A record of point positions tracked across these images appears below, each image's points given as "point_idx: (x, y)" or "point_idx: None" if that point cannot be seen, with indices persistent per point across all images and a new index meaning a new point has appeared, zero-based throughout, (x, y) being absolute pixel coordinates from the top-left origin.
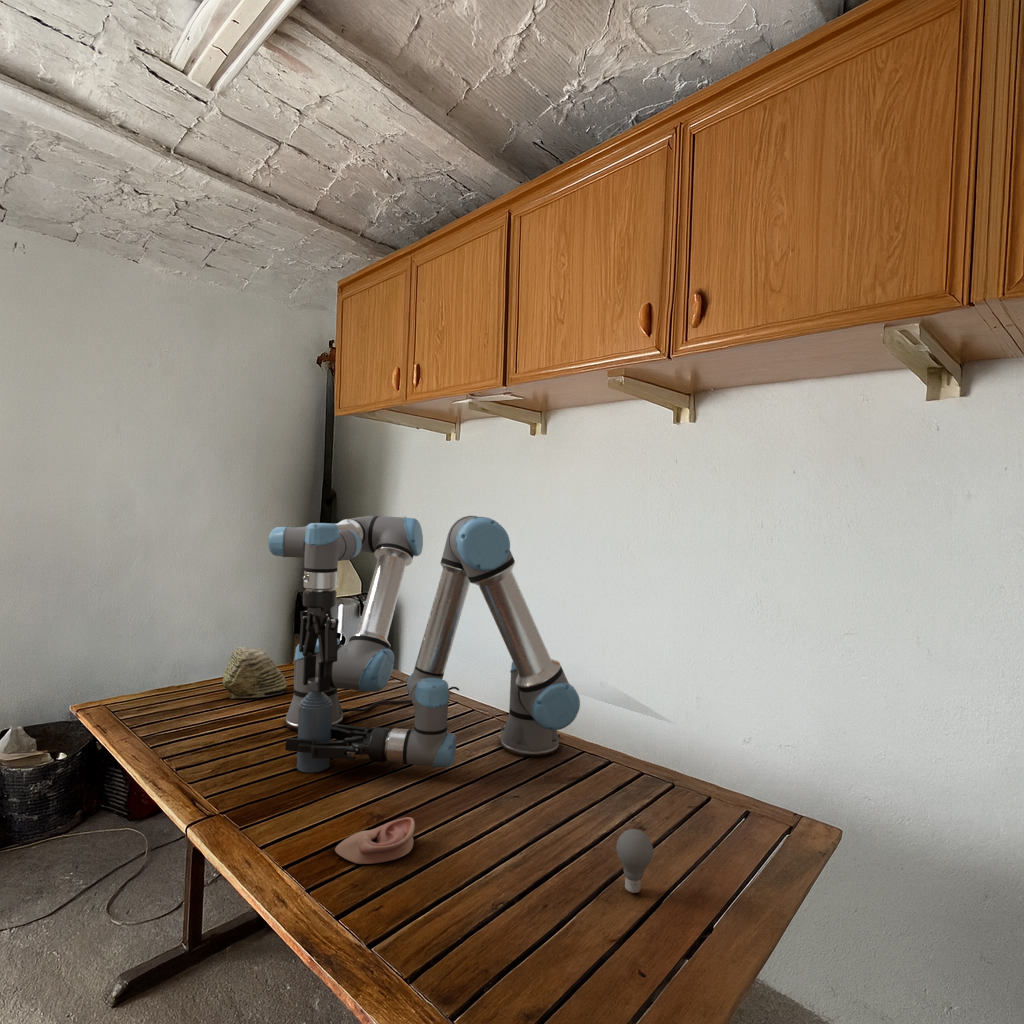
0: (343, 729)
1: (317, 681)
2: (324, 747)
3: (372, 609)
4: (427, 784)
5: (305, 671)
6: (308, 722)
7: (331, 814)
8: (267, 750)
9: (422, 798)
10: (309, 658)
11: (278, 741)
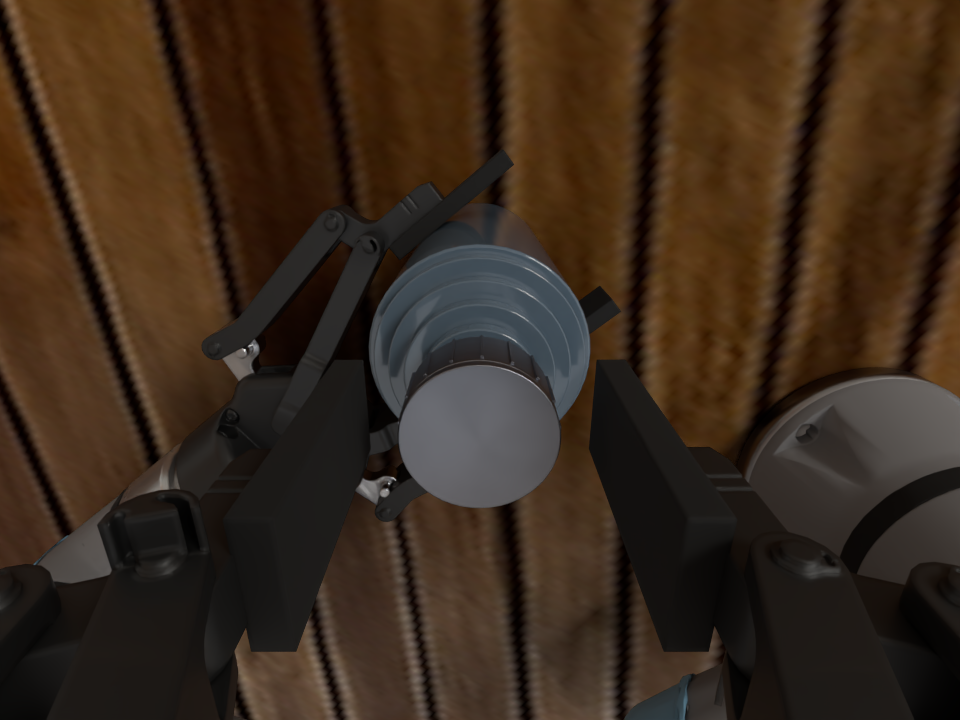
0: None
1: (411, 416)
2: (291, 253)
3: None
4: (127, 472)
5: (628, 421)
6: (417, 252)
7: (57, 114)
8: (745, 196)
9: (41, 409)
10: (671, 559)
11: (792, 275)
